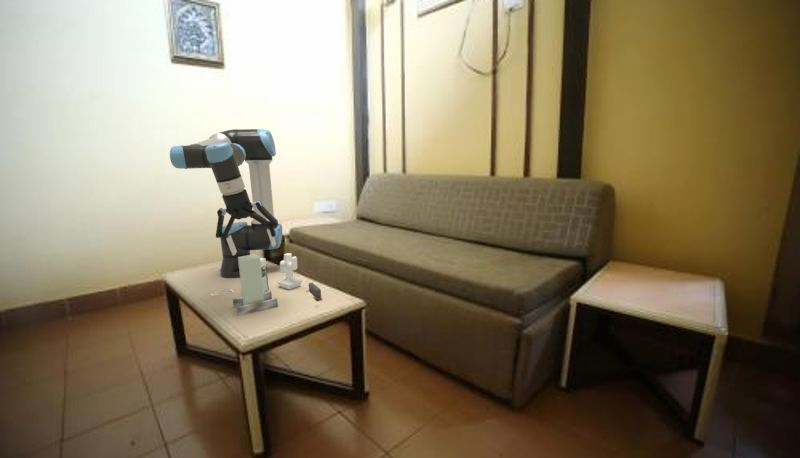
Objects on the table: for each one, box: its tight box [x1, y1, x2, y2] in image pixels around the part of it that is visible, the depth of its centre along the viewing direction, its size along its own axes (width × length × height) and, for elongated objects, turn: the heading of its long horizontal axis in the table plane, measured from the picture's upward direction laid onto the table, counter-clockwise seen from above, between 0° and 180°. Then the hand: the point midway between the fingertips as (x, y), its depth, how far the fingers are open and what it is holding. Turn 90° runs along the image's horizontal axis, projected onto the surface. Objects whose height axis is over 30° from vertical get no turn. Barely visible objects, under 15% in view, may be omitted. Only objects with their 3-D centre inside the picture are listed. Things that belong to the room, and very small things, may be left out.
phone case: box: [210, 288, 234, 297], centre depth 139 cm, size 7×1×15 cm
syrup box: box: [259, 257, 270, 293], centre depth 140 cm, size 6×6×14 cm
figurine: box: [276, 252, 304, 291], centre depth 146 cm, size 7×9×15 cm
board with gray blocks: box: [232, 282, 323, 317], centre depth 132 cm, size 30×10×4 cm, turn 123°
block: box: [238, 254, 264, 305], centre depth 126 cm, size 6×6×18 cm
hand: (254, 249), depth 126 cm, fingers open, 13 cm apart
